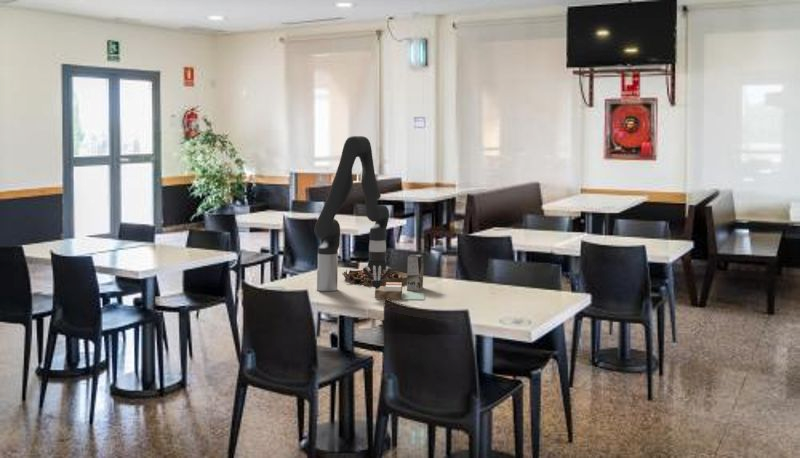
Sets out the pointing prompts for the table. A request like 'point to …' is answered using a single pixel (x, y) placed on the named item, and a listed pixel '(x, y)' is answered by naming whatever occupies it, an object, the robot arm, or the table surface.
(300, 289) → the table surface
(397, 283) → the terracotta card
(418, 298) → the mat
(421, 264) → the coffee box
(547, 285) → the table surface
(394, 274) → the dried twig wreath
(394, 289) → the cream card
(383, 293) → the deck
